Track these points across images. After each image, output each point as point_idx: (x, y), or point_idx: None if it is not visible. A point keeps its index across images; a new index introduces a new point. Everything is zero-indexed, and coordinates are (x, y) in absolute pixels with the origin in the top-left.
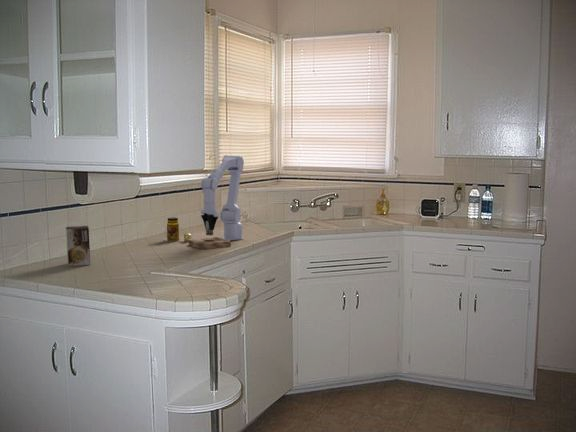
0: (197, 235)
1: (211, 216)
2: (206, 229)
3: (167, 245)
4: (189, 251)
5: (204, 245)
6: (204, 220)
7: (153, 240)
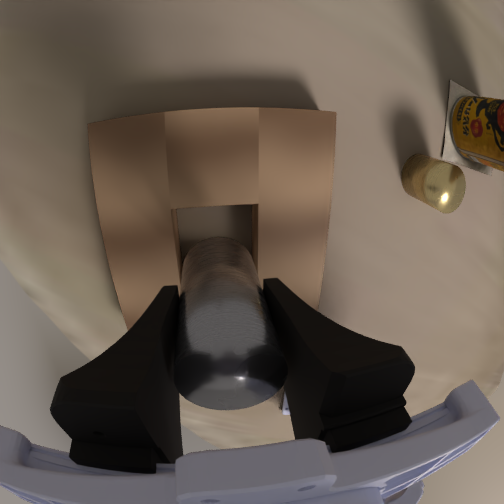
0: (472, 289)
1: (72, 434)
2: (214, 266)
3: (377, 6)
4: (91, 24)
5: (93, 143)
6: (299, 336)
7: (501, 68)
